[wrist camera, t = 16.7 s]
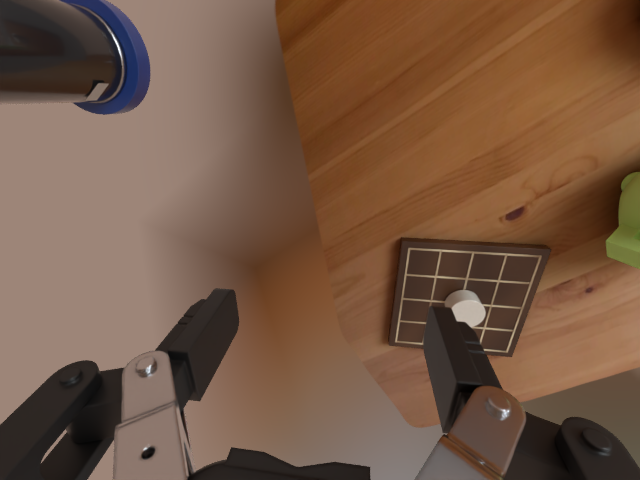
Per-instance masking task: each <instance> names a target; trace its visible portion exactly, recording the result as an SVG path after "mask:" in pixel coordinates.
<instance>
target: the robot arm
mask: <svg viewBox="0 0 640 480" xmlns="http://www.w3.org/2000/svg"><path fill="white" fill-rule="evenodd" d="M126 78H127V61H126V56H125V53H124V49H123V47H122V44H121V42H120V40H119V38H118V36H117V35H116V33H115V31H114V30H113V29H112V27H111V26H110V25H109V24H108V23H107V22H106V20H104V19H103V18H102V17H101V16H100V15H99V14H97V13H96V12H94V11H92V10H91V9H89V8H86V7H83V6H80V5H77V4H71V3H67V2H64V1H60V0H0V104H30V103H79V102H90V103H105V102H109V101H111V100H113V99H115V98H116V97H117V96H118V95H119V94H120V93H121V91H122V90H123V88H124V85H125V83H126ZM238 326H239V316H238V309H237V302H236V295H235V291H234V290H230V289H218V288H216V289H214V290H213V292H212V293H211V294H210V295H209V297H208V298H207V299H206V300H205V299H201V300H200V301H198V302H197V303H195V304H194V305H192V306H191V307H190V308H189V309H188V311H187V312H186V313H185V314H184V317H182V318H181V319H180V320H179V322H178V324H176V325H175V327H174V328H173V329H172V330H171V331H170V333H169V334H168V335H167V336H166V337H165V339H164V340H163V341H162V342H161V344H160V345H159V346H158V348H157V349H156V350H155V351H149V352H146V353H143V354H141V355H139V356H137V357H135V358H134V359H133V360H131V361H130V362H129V363H128V364H127V365H126V367H125V368H119V369H112V370H106V371H99V368H98V366H97V364H96V363H95V362H93V361H87V360H86V361H79V362H75V363H72V364H69V365H67V366H65V367H63V368H61V369H60V370H58V371H57V372H55V373H54V374H53V375H52V376H51V377H50V378H48V379H47V380H46V381H45V383H43V384H42V385H41V386H40V387H39V388H38V389H37V390H36V391H35V392H34V393H33V394H32V395H31V396H30V397H29V398H28V399H27V400H26V401H25V402H24V403H23V404H21V405H20V407H18V408H17V409H16V410H15V411H14V412H13V413H12V414H11V415H10V416H9V417H8V418H7V419H6V420H5V421H4V422H3V423H2V424H1V425H0V480H87V479H88V477H89V476H90V475H91V473H92V472H93V470H94V469H95V467H96V466H97V464H98V463H99V461H100V460H101V458H102V457H103V455H104V454H105V452H106V451H107V449H108V448H109V446H110V444H111V443H112V441H113V440H114V465H113V480H370V467H367V466H360V465H352V464H345V463H338V462H331V463H324V464H317V465H310V466H303V467H295V466H293V465H291V464H289V463H286V462H284V461H282V460H280V459H278V458H276V457H274V456H271V455H269V454H267V453H265V452H259V451H253V450H246V449H238V448H231V449H230V452H229V455H228V457H227V460H222V461H218V462H215V463H212V464H209V465H207V466H205V467H203V468H201V469H199V470H197V471H196V467H195V464H194V459H193V454H192V448H191V443H190V437H189V432H188V427H187V421H186V416H185V411H184V407H185V405H186V403H187V402H188V400H193V401H200V400H201V398H202V396H203V395H204V393H205V391H206V389H207V387H208V385H209V383H210V382H211V380H212V378H213V376H214V374H215V372H216V370H217V368H218V367H219V365H220V363H221V361H222V359H223V357H224V355H225V353H226V351H227V350H228V348H229V346H230V344H231V342H232V340H233V338H234V337H235V335H236V333H237V330H238ZM423 348H424V354H425V359H426V363H427V367H428V371H429V376H430V380H431V384H432V388H433V393H434V397H435V401H436V405H437V410H438V414H439V418H440V422H441V427H442V431H443V433H448V434H447V435H445V434H444V435H443V436H442V437H441V438H440V440H439V441H438V443H437V444H436V446H435V448H434V449H433V451H432V453H431V454H430V456H429V457H428V459H427V461H426V462H425V464H424V465H423V467H422V468H421V470H420V472H419V473H418V475H417V476H416V478H415V480H640V468H639V467H638V465H637V464H636V462H635V461H634V459H633V458H632V457H631V455H630V454H629V452H628V451H627V449H626V448H625V447H624V445H623V444H622V443H621V442H620V440H618V438H616V437H615V436H614V435H613V434H612V433H610V432H609V431H608V430H607V429H605V428H603V427H602V426H600V425H599V424H597V423H595V422H593V421H590V420H587V419H584V418H580V417H570V418H567V419H565V420H564V421H563V423H562V425H558V424H555V423H552V422H550V421H547V420H544V419H542V418H539V417H536V416H534V415H532V414H529V413H528V412H526V411H524V409H523V407H522V405H521V404H520V403H519V402H518V400H517V399H516V398H514V397H513V396H512V395H511V394H509V393H508V392H506V391H504V390H503V389H502V387H501V385H500V383H499V381H498V378H497V376H496V374H495V372H494V370H493V368H492V366H491V364H490V362H489V359H488V357H487V355H486V354H485V351H484V349H483V347H482V345H481V343H480V340H479V338H478V336H477V334H476V332H475V331H474V330H473V329H472V328H471V327H470V326H469V325H468V324H467V323H466V322H460V321H457V320H456V318H455V315H454V313H453V311H452V309H451V308H450V307H439V306H430V308H429V311H428V316H427V321H426V326H425V332H424V337H423ZM65 429H66V431H67V433H66V434H65V435H64V437H63V438H62V439H61V440H60V441H59V443H58V444H57V445H56V446H55V447H54V449H53V450H52V451H51V452H50V453H49V455H48V456H47V457H46V458H45V460H44V461H43V462H42V463H41V460H42V458H43V456H44V455H45V453H46V452H47V450H48V449H49V448H50V447H51V446H52V444H53V443H54V442H55V441H56V440H57V438H58V437H59V436H60V435H61V434H62V432H63V431H64V430H65Z"/></svg>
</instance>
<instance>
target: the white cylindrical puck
mask: <svg viewBox="0 0 640 480" xmlns="http://www.w3.org/2000/svg"><path fill="white" fill-rule="evenodd" d="M445 307H450V308H451V309H452V311H453V313H454V315H455V318H456V320H457V321H460V322H466V323H467V324H468V325H469V326H470V327H474V326H476V325H478V324H479V323H481V322H482V321H483V319H484V317H485V314H486V312H485V308H484V306H483V304H482V303H481V301H480V299H479V297H478V296H477V295H476V294H475V293H474V292H472V291H468V290H459V291H455V292H453V293H451V294H450V295H449V296H448V297H447V298H446V300H445Z"/></svg>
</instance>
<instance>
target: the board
mask: <svg viewBox="0 0 640 480" xmlns="http://www.w3.org/2000/svg"><path fill="white" fill-rule="evenodd" d="M550 252H551V249H550V248H549V247H547V246H546V245H528V244H510V243H491V242H473V241H455V240H437V239H418V238H401V244H400V252H399V260H398V268H397V276H396V283H395V291H394V299H393V307H392V315H391V322H390V330H389V338H388V342H389V345H390V346H400V347H411V348H421V349H424V348H423V337H424V332H425V326H426V321H427V316H428V311H429V308H430V306H439V307H445V300H446V298H447V297H448V296H449V295H450V294H451V293H453V292H455V291H459V290H468V291H472V292H474V293H475V294H476V295H477V296H478V297H479V299H480V301H481V303H482V304H483V306H484V308H485V312H486V314H485V317H484V319H483V321H482V322H481V323H479V324H478V325H476V326H474V327H471V328H472V329H473V330H474V331H475V332H476V334H477V336H478V338H479V340H480V343H481V345H482V347H483V349H484V351H485V354H486V355H495V356H505V357H512V355H513V352H514V350H515V347H516V344H517V342H518V339H519V336H520V333H521V331H522V328H523V325H524V323H525V320H526V317H527V314H528V312H529V309H530V306H531V303H532V301H533V298H534V295H535V293H536V290H537V287H538V284H539V282H540V279H541V276H542V274H543V271H544V268H545V265H546V263H547V260H548V257H549V255H550Z"/></svg>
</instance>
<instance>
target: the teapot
mask: <svg viewBox="0 0 640 480" xmlns="http://www.w3.org/2000/svg"><path fill="white" fill-rule="evenodd" d="M621 189H622V191H623V192H622V194H621V197H620V201H619V212H618V218H619V227H618V228H617V229H616V230H615V231H614V232H613V234H612V235H611V236H610V237H609V238H608V239H607V240H606V251H607V257H610V258H612V259H615V260H617V261H620V262H623V263H625V264H628V265H630V266H633V267H635V268H638V269H640V172H634V173H631V174H629V175H628V176H627V177H625V179H624V180H623V181H622V183H621Z"/></svg>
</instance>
